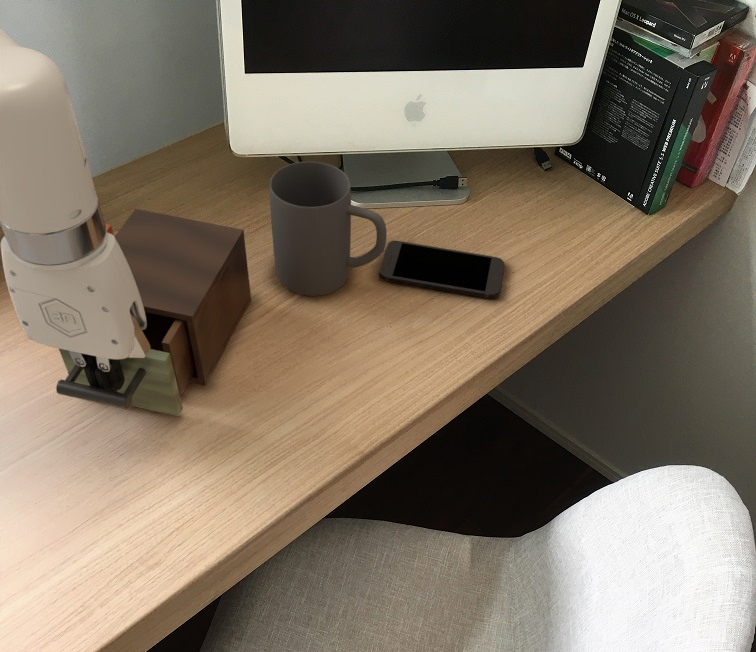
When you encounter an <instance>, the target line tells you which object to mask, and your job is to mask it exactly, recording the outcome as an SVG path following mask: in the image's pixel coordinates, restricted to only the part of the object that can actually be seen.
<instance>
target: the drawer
mask: <svg viewBox="0 0 756 652" xmlns="http://www.w3.org/2000/svg"><path fill="white" fill-rule="evenodd" d="M145 316H146V321H147V327H146V329H144V330H142V331H143V333H144V335H145V336H146V338H147V340H148V342H149V344H150V346H151V348H150V350H149V351H148V353H147V355H146V356H145V357H144V358H128V357H127V358H125V359H122V360H121V361H120V364H121V368H122V371H123V374H124V378H125V380H124V384H123V386H122V388H121V389H120V390H118V391H117V392H115V391H111V390H106V389H102V388H97V387H93V386H90V384H89V382H88V380H87V377H86V374H85V372H84V369H83V367H81V366H78V365H77V364H76V363H75V362H74V361H73V359H72V357H71V355H70V353H69V352H68V351H67V350H64V349H59V348H58V350H59V353H60V356H61V358H62V361H63V363H64V366H65V368H66V371H67V374H68V375H67V376H66V378H65V379H59V380H58V381H57V383H56V387H55V391H56V393H57V394H58V395H62V396H66V397H70V398H75V399H79V400H83V401H88V402H93V403H97V404H101V405H106V406H110V407H115V408H119V409H123V410H129V409H130V408H131V407H135V408H139V409H144V410H149V411H153V412H158V413H162V414H166V415H171V416H175V417H179V416H180V414H181V412H182V411H183V407H184V406H183V403H182V400H181V396H182V395H183V393H184V392H185V390H186V388H187V386H188V384H189V381H190V379H191V377H192V375H193V373H194V371H195V370H196V365H195V361H194V356H193V351H192V346H191V341H190V336H189V331H188V326H187V321H185V320H180V319H176V318H171V317H166V316H161V315H157V314H152V313H147V312H145Z"/></svg>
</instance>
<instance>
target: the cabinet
mask: <svg viewBox="0 0 756 652" xmlns="http://www.w3.org/2000/svg"><path fill="white" fill-rule="evenodd" d="M114 237H115V239H116V241H117V242H118V244H119V246H120V248H121V250H122V252H123V254H124V256H125V258H126V260H127V263H128V265H129V267H130V269H131V272H132V274H133V277H134V280H135V282H136V285H137V288H138V291H139V294H140V297H141V300H142V303H143V307H144V311H145V312H147V313H152V314H157V315H161V316H166V317H171V318H176V319H180V320H185V321H187V326H188V331H189V336H190V341H191V346H192V351H193V356H194V361H195V365H196V370H195V371H194V373H193V375H192V377H191V379H190V381H189V382H190V383H195V384H199V385H204V386H207V383H208V381H209V380H210V379H211V376H212V374H213V372H214V371H215V369H216V367H217V365H218V363H219V361H220V359H221V358H222V356H223V354H224V352H225V350H226V349H227V346H228V344H229V342H230V340H231V338H232V336H233V334H234V333H235V331H236V329H237V327H238V325H239V324H240V322H241V320H242V318H243V316H244V314H245V312H246V311H247V309H248V307H249V305H250V303H251V301H252V294H251V285H250V276H249V267H248V259H247V258H248V257H247V248H246V240H245V230H244V229H241V228H237V227H231V226H226V225H222V224H215V223H211V222H207V221H206V222H205V221H201V220H195V219H190V218H186V217H181V216H175V215H170V214H165V213H160V212H156V211H155V212H154V211H149V210H146V209H140V208H134V209H133V211H132V212H131V214H129V216H128V217H127V218H126V220H125V222H124V223H123V224H122V226H121V227H120V228H119V230H118V231H117V232H116V234H115V235H114ZM189 382H188V383H189Z"/></svg>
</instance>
